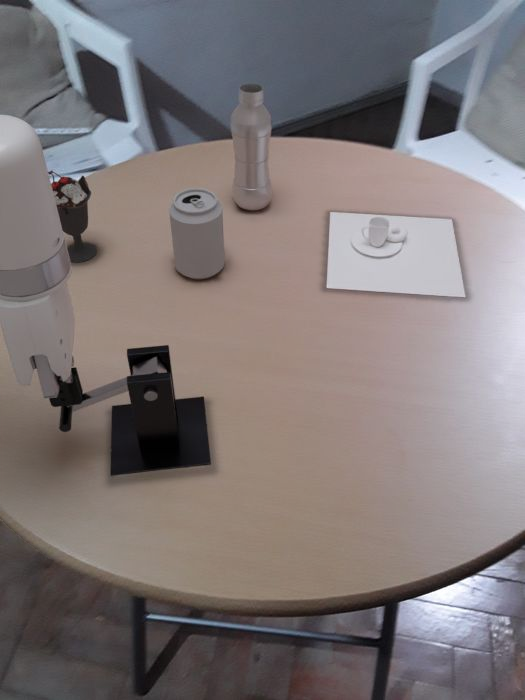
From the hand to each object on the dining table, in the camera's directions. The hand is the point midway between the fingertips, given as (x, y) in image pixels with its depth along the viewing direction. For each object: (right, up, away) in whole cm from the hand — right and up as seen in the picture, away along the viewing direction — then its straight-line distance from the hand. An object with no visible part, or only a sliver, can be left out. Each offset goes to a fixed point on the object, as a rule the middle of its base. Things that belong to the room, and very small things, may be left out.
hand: (67, 399), depth 72 cm
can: (+11, +18, +30) cm, 37 cm away
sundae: (-7, +20, +33) cm, 39 cm away
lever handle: (+5, 0, +1) cm, 5 cm away
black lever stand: (+9, -5, +7) cm, 12 cm away
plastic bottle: (+19, +30, +43) cm, 55 cm away
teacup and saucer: (+41, +20, +33) cm, 57 cm away
